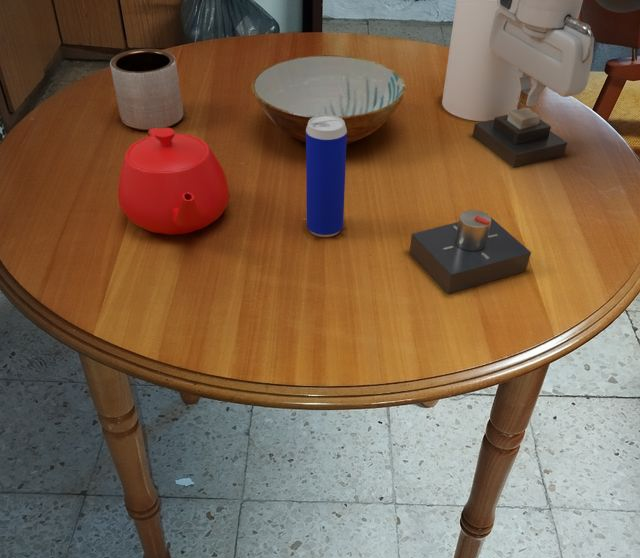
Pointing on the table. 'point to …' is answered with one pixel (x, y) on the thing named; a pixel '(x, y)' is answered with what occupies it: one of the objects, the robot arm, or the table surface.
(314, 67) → the bowl
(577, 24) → the robot arm
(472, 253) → the volume panel
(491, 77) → the canister
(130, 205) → the teapot
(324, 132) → the beverage can
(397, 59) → the table surface
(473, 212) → the volume dial
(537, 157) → the push button box
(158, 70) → the planter
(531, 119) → the cream push button
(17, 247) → the table surface
